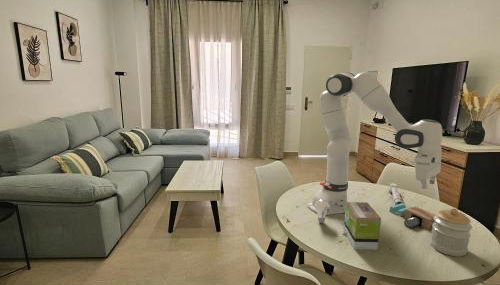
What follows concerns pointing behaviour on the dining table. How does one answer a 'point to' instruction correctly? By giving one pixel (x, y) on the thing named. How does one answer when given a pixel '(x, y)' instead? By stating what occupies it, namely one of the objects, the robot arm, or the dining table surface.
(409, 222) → the axle
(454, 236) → the jar
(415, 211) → the bearing block
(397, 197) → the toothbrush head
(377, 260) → the dining table surface
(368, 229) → the tea box
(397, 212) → the u channel
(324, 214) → the light bulb
